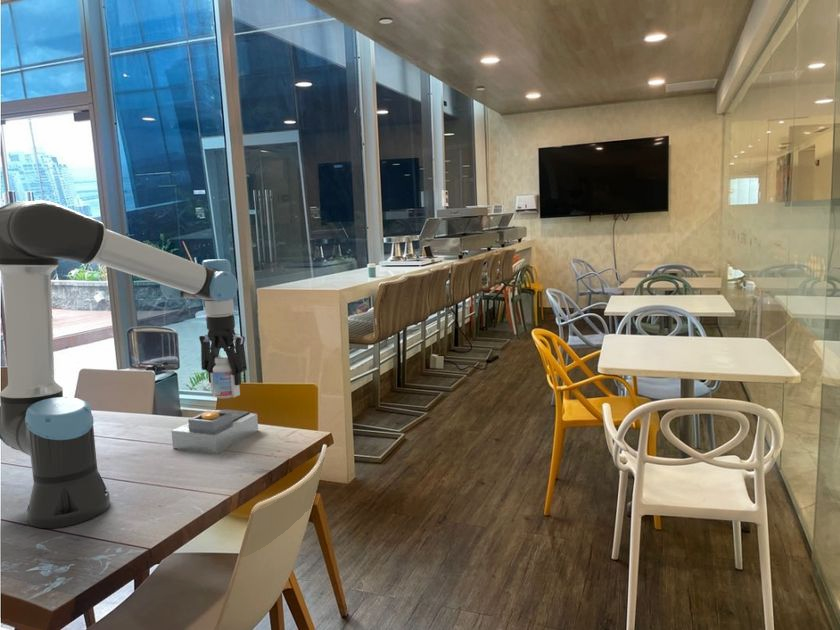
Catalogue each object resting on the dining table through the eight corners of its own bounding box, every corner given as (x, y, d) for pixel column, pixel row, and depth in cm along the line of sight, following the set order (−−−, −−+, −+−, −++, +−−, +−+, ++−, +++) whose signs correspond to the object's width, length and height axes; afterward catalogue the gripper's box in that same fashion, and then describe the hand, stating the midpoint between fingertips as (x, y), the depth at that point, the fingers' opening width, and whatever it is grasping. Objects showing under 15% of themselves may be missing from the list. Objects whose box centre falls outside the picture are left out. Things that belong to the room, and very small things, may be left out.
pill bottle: (223, 400, 171) (220, 360, 169) (210, 396, 174) (207, 358, 173) (241, 395, 175) (238, 356, 174) (228, 392, 179) (225, 354, 177)
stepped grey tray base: (216, 453, 161) (214, 424, 159) (172, 448, 165) (170, 419, 164) (258, 430, 178) (256, 403, 177) (217, 426, 183) (216, 400, 182)
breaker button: (213, 444, 165) (211, 417, 164) (200, 443, 166) (198, 416, 165) (224, 439, 169) (222, 412, 168) (210, 437, 170) (208, 411, 169)
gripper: (257, 313, 172) (262, 393, 175) (200, 311, 178) (206, 389, 181) (241, 318, 165) (246, 401, 168) (182, 315, 171) (189, 396, 174)
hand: (226, 394), depth 175 cm, fingers closed on pill bottle, 6 cm apart
